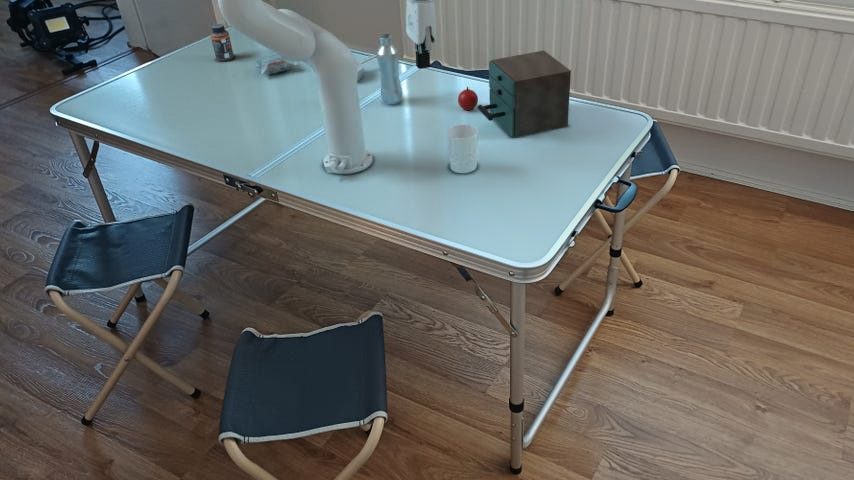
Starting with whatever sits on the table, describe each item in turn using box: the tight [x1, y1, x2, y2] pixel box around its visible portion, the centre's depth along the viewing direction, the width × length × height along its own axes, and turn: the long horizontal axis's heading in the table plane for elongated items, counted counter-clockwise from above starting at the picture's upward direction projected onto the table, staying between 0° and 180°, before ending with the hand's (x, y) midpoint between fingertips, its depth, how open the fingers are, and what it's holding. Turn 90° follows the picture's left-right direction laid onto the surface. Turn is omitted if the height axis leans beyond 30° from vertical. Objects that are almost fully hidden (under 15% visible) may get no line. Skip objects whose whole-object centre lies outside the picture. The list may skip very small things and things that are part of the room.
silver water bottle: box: [376, 33, 404, 105], centre depth 210 cm, size 6×7×20 cm
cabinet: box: [488, 50, 572, 138], centre depth 199 cm, size 18×16×16 cm
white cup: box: [445, 123, 479, 174], centre depth 181 cm, size 8×8×10 cm
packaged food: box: [254, 53, 297, 76], centre depth 237 cm, size 9×12×5 cm
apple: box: [457, 86, 479, 112], centre depth 209 cm, size 6×6×7 cm
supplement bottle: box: [210, 23, 235, 62], centre depth 245 cm, size 6×6×11 cm
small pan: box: [356, 54, 377, 82], centre depth 233 cm, size 11×18×4 cm, turn 136°
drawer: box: [476, 88, 514, 137], centre depth 201 cm, size 21×15×8 cm
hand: (423, 66), depth 183 cm, fingers closed
